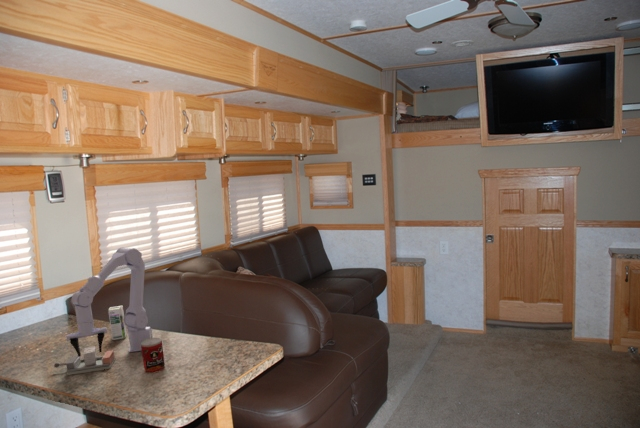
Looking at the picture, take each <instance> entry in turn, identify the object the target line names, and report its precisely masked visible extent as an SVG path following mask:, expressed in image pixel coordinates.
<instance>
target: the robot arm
mask: <svg viewBox="0 0 640 428" xmlns="http://www.w3.org/2000/svg"><path fill="white" fill-rule="evenodd" d="M142 255H143V254H142V252H140V251H139V250H138V249H136V248H128V247H119V248H118V249H116V251H115V252H114V253H113V254H112V255H111V258H110V259H109V260H108V261H107V262H106V264H105V265H104V266H103V268H102V269H101V270H100V272H98V274H96V275H92V276H90V277H88V278H87V282H86V283H85V284H84V285H83V286H82V287H80V288H79V290H78V291H75V292H74V293H72V297H71V299H70V303H71V304H72V305H73V306H74V311H75V317H76V324H77V328H78V329H77V330H78V331H76V332H73V333H69V334H66V341H67V342H69V343H70V345H71V346H72V347H73V348H74V350H75V351H76V354H77V356H78V357H80V358H81V355H82V354H81V348H80V342H79V339H81V338H86V337H91V336H96V335H97V337H96V338H97V341H98V351H99V353H102V345H103V342H104V338H105V334H107V333H108V329H107V327H106V326H105V327H96V328H95V325H94V317H93V311H92V303H93V300H94V298H95V295H97V293H98V292H99V291H101V289H102V288H103V287H104V285H105V280H107V278H108V277H109V276H110V275H111V274H113V272H114V271H115V270H116V269H117V268H118V267H122V266H127V267H128V268H129V269H130V285H129V286H130V287H129V288H130V289H129V290H130V291H129V306H128V307H127V308H126V310H125V313H124V324H125V326H126V327H127V328H126V329H127V331H128V342H129V349H128V350H127V351H128V352H127V353H134V352H135V353H136V352H142V349H141V342H143V341H144V340H147V339H150V338H154V337H153V329H152V327H151V326H147V325H148V322H149V319H148V316H147V311H146V309H145V308H144V291H145V290H144V289H145V288H144V287H145V269H146V267H145V266H146V265H145V262H144V260H143V257H142Z"/></svg>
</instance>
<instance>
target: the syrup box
mask: <svg viewBox="0 0 640 428" xmlns="http://www.w3.org/2000/svg"><path fill="white" fill-rule="evenodd" d="M107 310H108V311H107V313H108V317H109V318H108V319H109V325H110V333H111V339H112V341H115V340H123V339H126V337H127V328H126V327H127V326H126V325H125V324H124V316H125V312H124V306H123V305H118V306H117V305H116V306H110V307H109V308H108V309H107Z"/></svg>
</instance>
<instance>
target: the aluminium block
mask: <svg viewBox="0 0 640 428" xmlns="http://www.w3.org/2000/svg"><path fill="white" fill-rule="evenodd" d="M97 357H98V354H97V348H96V345H94V346H88V347H84V349H83V359H84V361H85V367H88V366H95V365H97Z"/></svg>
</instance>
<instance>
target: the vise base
mask: <svg viewBox="0 0 640 428" xmlns="http://www.w3.org/2000/svg"><path fill="white" fill-rule="evenodd" d="M115 355H116V354H114V357H115V358H114V359H113V361H112V363H111V365H110V364H102V358H103V356H104V355H103V356H102V355H101V356H97V365H95V366H88V367H85V361H84V358H82V359H81V356H80V357H78V355H72V356H71V357H70V358H69V359H68V361H67V362H62V363H58V362H56V363H54V364H53V366H54V368H59V367H60V366H61V367H62V366H66V376H69V375H70V376H71V375H77V374H78V375H79V374H84V373H91V372H97V371H104V369H105V370H110V369H111V368H112V366H113V364H114V362H115V361H116V356H115Z"/></svg>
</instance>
